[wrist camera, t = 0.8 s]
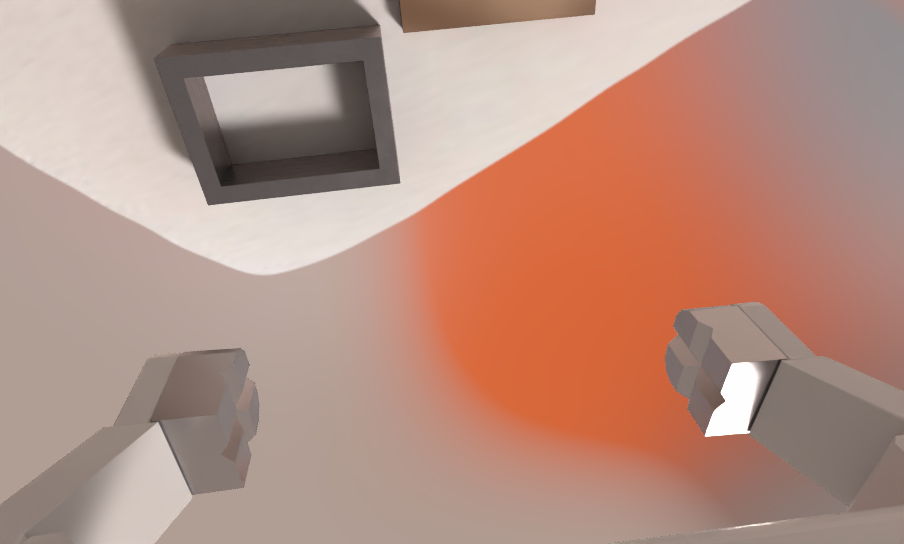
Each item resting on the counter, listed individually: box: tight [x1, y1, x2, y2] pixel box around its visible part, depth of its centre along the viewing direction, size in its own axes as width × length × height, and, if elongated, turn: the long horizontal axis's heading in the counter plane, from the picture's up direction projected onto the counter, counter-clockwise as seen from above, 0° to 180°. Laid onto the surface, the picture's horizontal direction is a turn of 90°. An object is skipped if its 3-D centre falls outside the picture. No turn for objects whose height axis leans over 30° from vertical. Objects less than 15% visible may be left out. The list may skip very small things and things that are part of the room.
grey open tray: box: [154, 25, 400, 205], centre depth 40 cm, size 11×15×4 cm
